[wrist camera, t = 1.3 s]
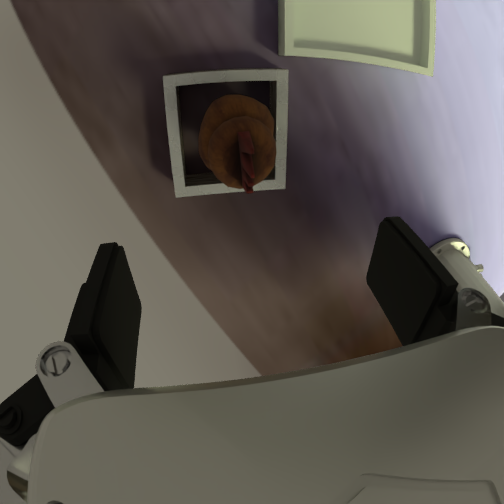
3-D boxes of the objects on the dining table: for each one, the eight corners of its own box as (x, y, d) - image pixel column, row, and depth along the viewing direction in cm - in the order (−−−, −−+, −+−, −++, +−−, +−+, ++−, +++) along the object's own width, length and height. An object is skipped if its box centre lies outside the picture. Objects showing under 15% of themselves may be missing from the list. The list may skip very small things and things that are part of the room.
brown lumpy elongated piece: (212, 82, 25) (218, 108, 13) (270, 99, 27) (327, 142, 15) (192, 148, 29) (184, 228, 17) (248, 162, 31) (281, 248, 19)
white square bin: (280, 68, 25) (288, 69, 23) (278, 176, 32) (285, 188, 30) (166, 74, 24) (162, 76, 22) (177, 184, 31) (175, 197, 29)
